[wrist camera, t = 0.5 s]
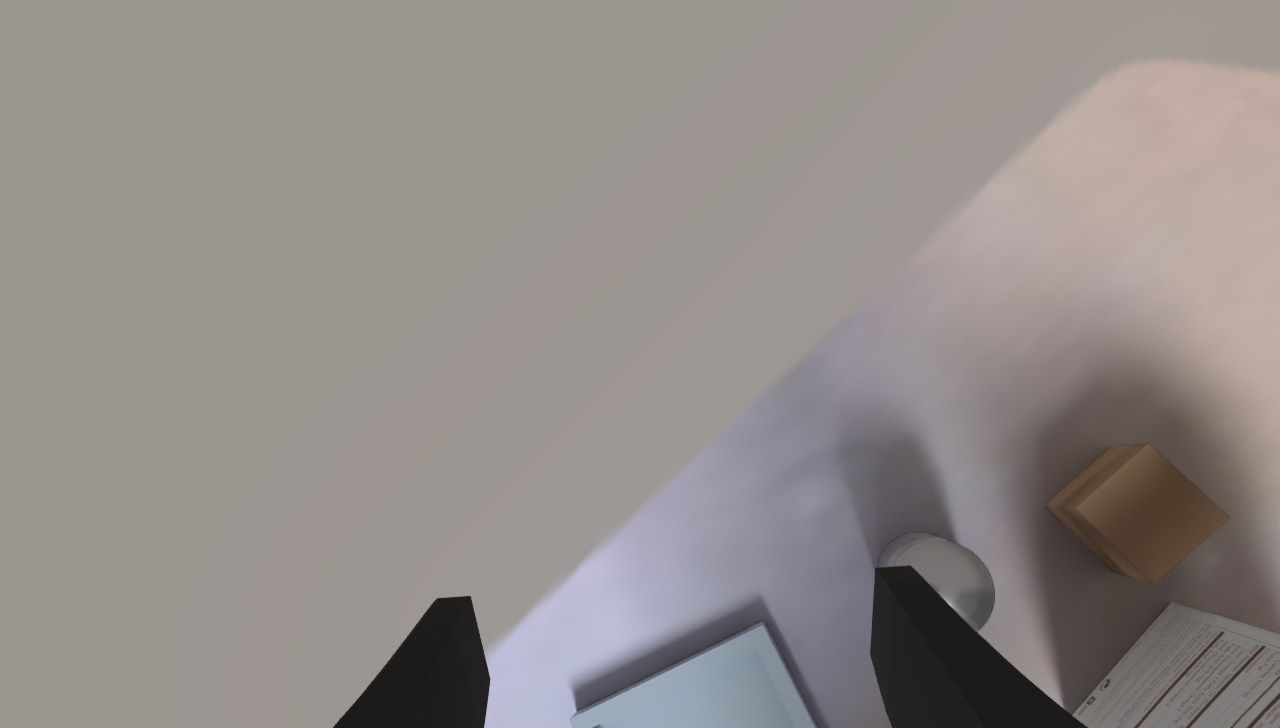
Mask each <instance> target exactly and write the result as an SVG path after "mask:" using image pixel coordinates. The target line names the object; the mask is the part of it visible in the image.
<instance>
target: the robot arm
mask: <svg viewBox="0 0 1280 728" xmlns="http://www.w3.org/2000/svg"><path fill="white" fill-rule="evenodd" d="M870 655H871V659H872V662H873V666H874V670H875V673H876V677H877V681H878V685H879V688H880V692H881V695H882V699H883V702H884V705H885V709H886V712H887V715H888V717H889V720H890V722H891V725H892V727H893V728H1088V727H1087V726H1085V725H1084V724H1083V723H1081V722H1080V721H1079V720H1077V719H1076V718H1075V717H1073V716H1072V715H1071V714H1069V713H1068V712H1067V711H1066V710H1064V709H1063V708H1062V707H1061V706H1060V705H1058V704H1057V703H1056V702H1055V701H1053V700H1052V699H1051V698H1050V697H1049V696H1047V695H1046V694H1045V693H1044V692H1043V691H1042V690H1040V689H1039V688H1038V687H1037V686H1036V685H1034V684H1033V683H1032V682H1031V681H1030V680H1029V679H1027V678H1026V677H1025V676H1024V675H1023V674H1022V673H1021V672H1019V671H1018V670H1017V669H1016V668H1015V667H1014V666H1013V665H1012V664H1011V663H1009V662H1008V661H1007V660H1006V659H1005V658H1004V657H1003V656H1002V655H1001V654H1000V653H999V652H998V651H996V650H995V649H994V648H993V647H992V646H991V645H990V644H989V643H988V642H987V641H986V640H985V639H984V638H983V637H982V636H980V635H979V634H978V633H977V632H976V631H975V630H974V629H973V628H972V627H971V626H970V625H969V624H968V623H967V622H966V621H965V620H964V619H963V618H962V617H961V616H960V615H959V614H958V613H957V612H956V611H955V610H954V609H953V608H952V607H951V606H950V605H949V604H948V603H947V602H946V601H945V600H944V599H943V598H942V597H941V596H940V595H939V594H938V593H937V591H936V590H935V589H934V588H933V587H932V586H931V585H930V584H929V583H928V582H927V581H926V580H925V579H924V578H923V577H922V576H921V575H920V574H919V573H918V572H917V571H916V570H915V569H914V568H913V567H912V566H911V565H908V566H894V567H879V568H875V582H874V600H873V617H872V635H871V652H870ZM489 686H490V676H489V672H488V667H487V663H486V659H485V655H484V651H483V646H482V642H481V638H480V634H479V630H478V626H477V621H476V617H475V613H474V609H473V604H472V600H471V596H465V597H451V598H438V599H436V600H435V601H434V602H433V604H432V605H431V606H430V607H429V609H428V610H427V611H426V613H425V614H424V615H423V617H422V618H421V619H420V621H419V622H418V623H417V624H416V626H415V627H414V628H413V630H412V631H411V633H410V634H409V635H408V636H407V638H406V639H405V640H404V642H403V643H402V644H401V646H400V647H399V648H398V650H397V651H396V652H395V654H394V655H393V656H392V657H391V659H390V660H389V661H388V662H387V664H386V665H385V666H384V667H383V669H382V670H381V671H380V672H379V674H378V675H377V676H376V677H375V679H374V680H373V681H372V682H371V684H370V685H369V686H368V687H367V689H366V690H365V691H364V692H363V693H362V695H361V696H360V697H359V698H358V699H357V701H356V702H355V703H354V704H353V705H352V706H351V707H350V709H349V710H348V711H347V712H346V713H345V714H344V715H343V717H342V718H341V719H340V720H339V721H338V722H337V724H335V726H334V727H333V728H484V724H485V717H486V710H487V702H488V694H489Z"/></svg>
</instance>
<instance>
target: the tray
mask: <svg viewBox="0 0 1280 728" xmlns="http://www.w3.org/2000/svg"><path fill="white" fill-rule="evenodd" d="M570 721H571V724H572V726H573V728H818V726H817V724H816V722H815V720H814V718H813V716H812V714H811V712H810V710H809V708H808V706H807V704H806V702H805V700H804V698H803V697H802V695H801V693H800V691H799V689H798V687H797V685H796V683H795V681H794V679H793V677H792V675H791V673H790V671H789V669H788V667H787V665H786V663H785V661H784V659H783V657H782V655H781V653H780V651H779V649H778V647H777V645H776V643H775V641H774V639H773V637H772V635H771V633H770V631H769V629H768V627H767V625H766V623H765V621H764V620H763V621H761V622H759V623H757V624H755V625H753V626H751V627H749V628H747V629H745V630H743V631H741V632H739V633H737V634H734V635H732V636H730V637H728V638H726V639H724V640H722V641H720V642H718V643H716V644H714V645H712V646H710V647H708V648H706V649H704V650H702V651H700V652H698V653H696V654H694V655H692V656H689V657H687V658H685V659H683V660H681V661H679V662H677V663H675V664H673V665H671V666H669V667H667V668H665V669H663V670H661V671H659V672H657V673H655V674H653V675H651V676H649V677H646V678H644V679H642V680H640V681H638V682H636V683H634V684H632V685H630V686H628V687H626V688H624V689H622V690H620V691H618V692H616V693H614V694H612V695H610V696H608V697H606V698H604V699H601V700H599V701H597V702H595V703H593V704H591V705H589V706H587V707H585V708H583V709H581V710H579V711H577V712H576V713H575V714H574V715H573V716H572V717H571V718H570Z"/></svg>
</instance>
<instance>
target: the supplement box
mask: <svg viewBox="0 0 1280 728" xmlns="http://www.w3.org/2000/svg"><path fill="white" fill-rule="evenodd" d="M1072 716H1073V717H1075V718H1076V719H1077V720H1079V721H1080V722H1081V723H1083V724H1084V725H1085V726H1087V727H1088V728H1280V634H1278V633H1274V632H1271V631H1268V630H1265V629H1261V628H1258V627H1255V626H1251V625H1248V624H1245V623H1241V622H1238V621H1235V620H1232V619H1228V618H1225V617H1222V616H1219V615H1216V614H1212V613H1209V612H1205V611H1202V610H1199V609H1195V608H1192V607H1188V606H1185V605H1182V604H1178V603H1175V602H1171V603H1170V604H1169V605H1168V607H1167V608H1166V609H1165V610H1164V611H1163V612H1162V613H1161V614H1160V615H1159V617H1158V618H1157V619H1156V620H1155V621H1154V622H1153V623H1152V624H1151V625H1150V627H1149V628H1148V629H1147V630H1146V631H1145V632H1144V634H1143V635H1142V636H1141V637H1140V638H1139V639H1138V640H1137V641H1136V643H1135V644H1134V645H1133V646H1132V647H1131V648H1130V649H1129V651H1128V652H1127V653H1126V654H1125V655H1124V656H1123V657H1122V658H1121V659H1120V661H1119V662H1118V663H1117V664H1116V665H1115V666H1114V667H1113V668H1112V670H1111V671H1110V672H1109V673H1108V674H1107V675H1106V676H1105V678H1104V679H1103V680H1102V681H1101V682H1100V683H1099V684H1098V685H1097V687H1096V688H1095V689H1094V690H1093V691H1092V692H1091V694H1090V695H1089V696H1088V697H1087V698H1086V700H1085V701H1084V702H1083V703H1082V704H1081V705H1080V706H1079V707H1078V708H1077V710H1076V711H1075V712H1074V713H1073V714H1072Z"/></svg>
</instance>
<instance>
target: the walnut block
mask: <svg viewBox="0 0 1280 728" xmlns="http://www.w3.org/2000/svg"><path fill="white" fill-rule="evenodd" d="M1045 506H1046V507H1047V508H1048V509H1049V510H1050V511H1051V512H1052V513H1053V514H1054V515H1055V516H1056V517H1057V518H1058V519H1059V520H1060V521H1061V522H1062V523H1063V524H1065V525H1066V526H1067V527H1068V528H1069V529H1070V530H1071V531H1072V532H1073V533H1074V534H1075V535H1076V536H1077V537H1078V538H1079V539H1080V540H1081V541H1082V542H1083V543H1084V544H1085V545H1086V546H1087V547H1088V548H1089V549H1090V550H1091V551H1092V552H1093V553H1094V554H1095V555H1096V556H1097V557H1098V558H1100V559H1101V560H1102V561H1103V562H1104V563H1105V564H1106V565H1107V566H1108V567H1109V568H1110V569H1111V570H1112V571H1113V572H1115V573H1118V574H1122V575H1125V576H1129V577H1132V578H1136V579H1139V580H1143V581H1146V582H1150V583H1153V584H1155V583H1156V582H1157V581H1158V580H1159V579H1161V578H1162V577H1163V576H1164V575H1165V574H1166V573H1167V572H1169V571H1170V570H1171V569H1172V568H1173V567H1174V566H1175V565H1177V564H1178V563H1179V562H1180V561H1181V560H1182V559H1183V558H1185V557H1186V556H1187V555H1188V554H1189V553H1190V552H1191V551H1192V550H1194V549H1195V548H1196V547H1197V546H1198V545H1199V544H1200V543H1202V542H1203V541H1204V540H1205V539H1206V538H1207V537H1208V536H1210V535H1211V534H1212V533H1213V532H1214V531H1215V530H1216V529H1217V528H1219V527H1220V526H1221V525H1222V524H1223V523H1224V522H1225V521H1227V520H1228V519H1229V518H1230V517H1229V516H1228V515H1227V514H1226V513H1225V512H1224V511H1223V510H1222V509H1220V508H1219V507H1218V506H1217V505H1216V504H1215V503H1214V502H1213V501H1212V500H1211V499H1209V498H1208V497H1207V496H1206V495H1205V494H1204V493H1203V492H1202V491H1201V490H1200V489H1198V488H1197V487H1196V486H1195V485H1194V484H1193V483H1192V482H1191V481H1190V480H1188V479H1187V478H1186V477H1185V476H1184V475H1183V474H1182V473H1181V472H1180V471H1179V470H1177V469H1176V468H1175V467H1174V466H1173V465H1172V464H1171V463H1170V462H1169V461H1168V460H1166V459H1165V458H1164V457H1163V456H1162V455H1161V454H1160V453H1159V452H1158V451H1156V450H1155V449H1154V448H1153V447H1152V446H1151V445H1150V444H1149V443H1147V444H1138V445H1128V446H1118V447H1109V448H1108V449H1107V450H1106V451H1105V452H1104V453H1102V454H1101V455H1100V456H1099V457H1098V458H1097V459H1096V460H1095V461H1094V462H1092V463H1091V464H1090V465H1089V466H1088V467H1087V468H1086V469H1085V470H1083V471H1082V472H1081V473H1080V474H1079V475H1078V476H1077V477H1076V478H1074V479H1073V480H1072V481H1071V482H1070V483H1069V484H1068V485H1067V486H1065V487H1064V488H1063V489H1062V490H1061V491H1060V492H1059V493H1058V494H1057V495H1055V496H1054V497H1053V498H1052V499H1051V500H1050V501H1049V502H1048V503H1046V504H1045Z"/></svg>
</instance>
